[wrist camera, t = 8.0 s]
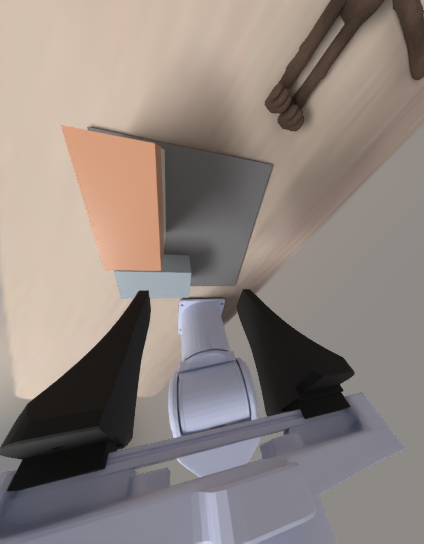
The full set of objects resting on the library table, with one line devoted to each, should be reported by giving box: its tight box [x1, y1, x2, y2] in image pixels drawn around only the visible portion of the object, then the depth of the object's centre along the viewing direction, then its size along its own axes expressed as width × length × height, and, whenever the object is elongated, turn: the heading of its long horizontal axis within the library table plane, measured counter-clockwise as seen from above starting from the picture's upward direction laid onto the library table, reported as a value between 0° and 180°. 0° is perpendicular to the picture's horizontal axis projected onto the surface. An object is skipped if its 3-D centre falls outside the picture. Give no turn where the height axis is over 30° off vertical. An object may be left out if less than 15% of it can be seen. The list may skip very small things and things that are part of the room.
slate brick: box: [114, 254, 191, 299], centre depth 20 cm, size 8×4×4 cm, turn 81°
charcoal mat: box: [87, 127, 272, 286], centre depth 20 cm, size 17×17×1 cm
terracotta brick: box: [61, 125, 164, 271], centre depth 11 cm, size 8×4×4 cm, turn 171°
